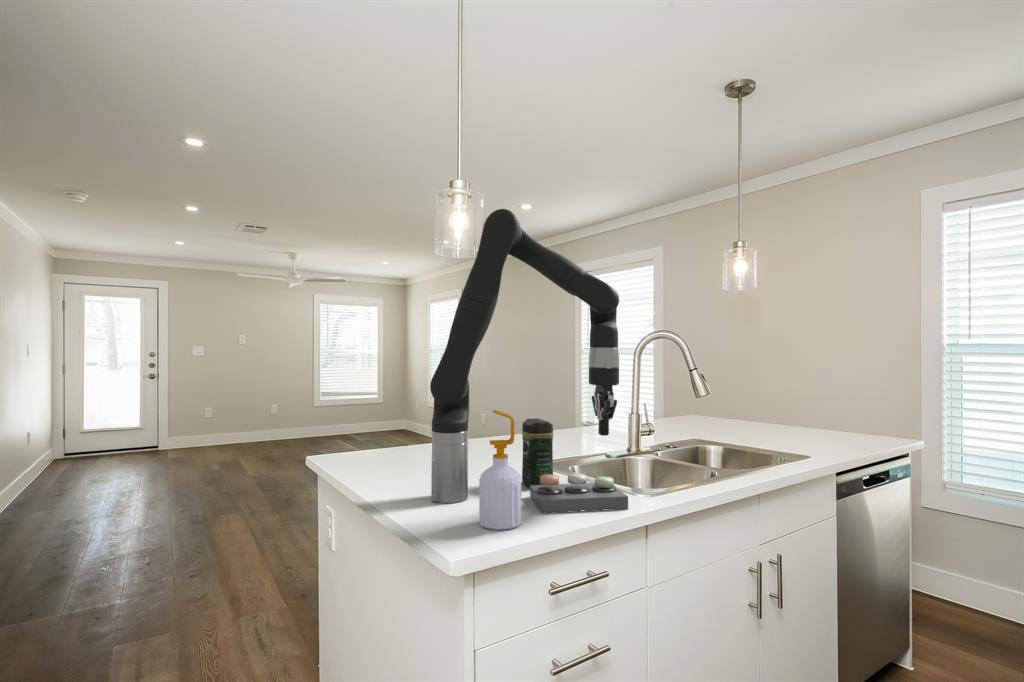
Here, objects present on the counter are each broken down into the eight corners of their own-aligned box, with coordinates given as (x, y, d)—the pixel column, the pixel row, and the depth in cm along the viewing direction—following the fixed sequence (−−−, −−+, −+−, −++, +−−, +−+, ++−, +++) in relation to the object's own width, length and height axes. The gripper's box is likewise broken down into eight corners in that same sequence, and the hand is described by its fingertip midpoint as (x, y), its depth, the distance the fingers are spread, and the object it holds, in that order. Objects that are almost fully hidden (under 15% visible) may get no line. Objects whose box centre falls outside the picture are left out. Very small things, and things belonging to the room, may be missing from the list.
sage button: (598, 487, 129) (598, 481, 129) (592, 483, 133) (592, 476, 133) (616, 487, 130) (616, 480, 130) (609, 482, 134) (609, 476, 134)
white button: (570, 484, 128) (570, 478, 128) (565, 480, 132) (565, 473, 132) (588, 483, 128) (588, 477, 128) (583, 479, 133) (583, 473, 133)
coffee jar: (557, 488, 145) (557, 420, 145) (530, 490, 142) (530, 421, 143) (544, 480, 154) (544, 416, 154) (518, 482, 151) (518, 417, 152)
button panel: (541, 513, 122) (541, 498, 122) (530, 497, 135) (530, 483, 136) (628, 509, 125) (628, 494, 125) (608, 493, 139) (608, 480, 139)
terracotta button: (542, 485, 127) (542, 479, 127) (538, 481, 131) (538, 474, 131) (561, 485, 127) (560, 478, 127) (556, 480, 132) (556, 474, 132)
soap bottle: (478, 518, 118) (479, 408, 119) (519, 517, 119) (519, 408, 120) (479, 531, 109) (480, 412, 110) (523, 530, 110) (523, 412, 111)
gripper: (581, 365, 138) (581, 431, 138) (597, 366, 125) (597, 439, 125) (609, 365, 139) (609, 431, 139) (627, 366, 126) (627, 439, 126)
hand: (603, 435), depth 132 cm, fingers closed
